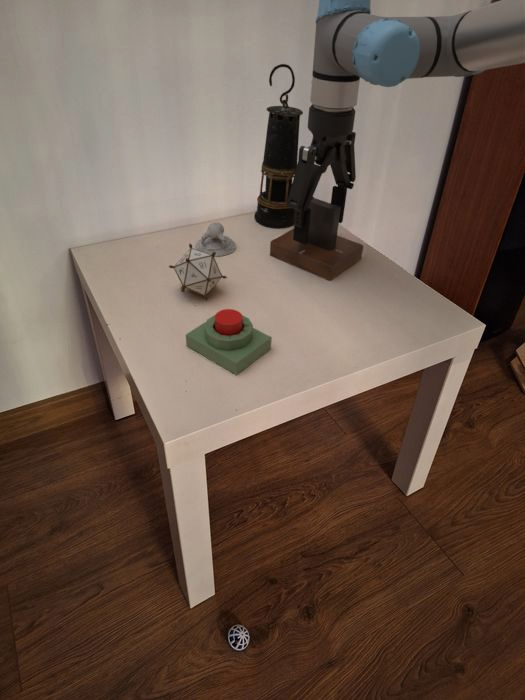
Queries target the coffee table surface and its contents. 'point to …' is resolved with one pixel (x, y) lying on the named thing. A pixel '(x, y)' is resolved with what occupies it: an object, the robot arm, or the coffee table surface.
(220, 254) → the miniature
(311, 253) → the block
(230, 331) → the button
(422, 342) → the coffee table surface
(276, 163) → the lantern
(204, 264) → the game die
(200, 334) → the button block
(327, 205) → the dark grey block
